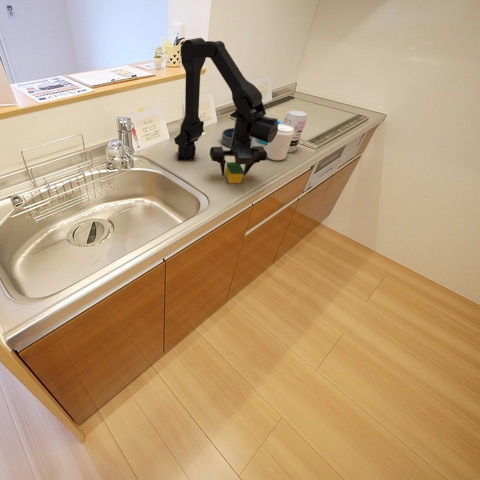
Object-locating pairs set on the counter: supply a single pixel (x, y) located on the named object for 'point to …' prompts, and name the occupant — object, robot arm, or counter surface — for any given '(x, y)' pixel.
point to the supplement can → (295, 126)
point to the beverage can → (280, 143)
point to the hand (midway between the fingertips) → (233, 175)
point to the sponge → (234, 172)
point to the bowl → (228, 137)
